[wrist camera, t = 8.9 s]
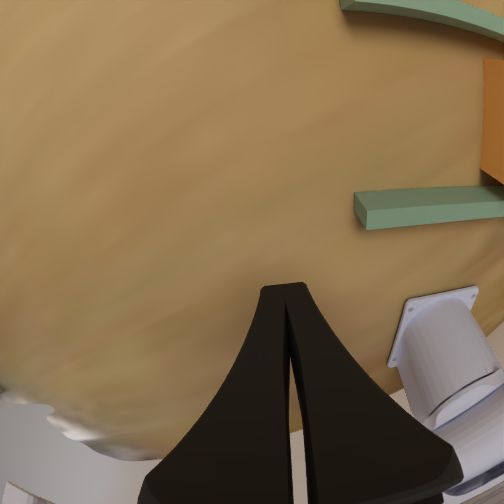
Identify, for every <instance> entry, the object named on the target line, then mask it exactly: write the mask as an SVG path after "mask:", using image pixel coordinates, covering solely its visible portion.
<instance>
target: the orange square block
mask: <svg viewBox="0 0 504 504" xmlns="http://www.w3.org/2000/svg"><path fill="white" fill-rule="evenodd" d="M483 71H484V127H483V143H482V154H481V164H480V169H481V170H483V171H485V172H486V173H488V174H489V175H491V176H492V177H494V178H495V179H497V180H498V181H499V182H501V183H502V184H504V60H499V59H492V58H483Z"/></svg>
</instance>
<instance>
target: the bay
mask: <svg viewBox="0 0 504 504" xmlns="http://www.w3.org/2000/svg"><path fill="white" fill-rule="evenodd" d="M340 6H341V10H350V11H365V12H375V13H384V14H392V15H399V16H406V17H412V18H417V19H423V20H428V21H432V22H437V23H441V24H445V25H449V26H453V27H457V28H461V29H464V30H468V31H471V32H474V33H478V34H481V35H484V36H487V37H490V38H493V39H495V40H498V41H501V42H503V43H504V18H502V17H500V16H497V15H495V14H493V13H490V12H488V11H485V10H482V9H480V8H477V7H474V6H471V5H469V4H466V3H463V2H460V1H456V0H340ZM354 211H355V213H356V214H357V216H358V218H359V219H360V221H361V222H362V224H363V226H364V227H365V229H366V230H373V229H383V228H393V227H402V226H412V225H422V224H432V223H442V222H453V221H463V220H473V219H484V218H495V217H504V186H463V187H436V188H416V189H398V190H383V191H369V192H356V193H354Z"/></svg>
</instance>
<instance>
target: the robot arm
mask: <svg viewBox="0 0 504 504" xmlns="http://www.w3.org/2000/svg"><path fill="white" fill-rule="evenodd" d="M478 291H479V289H478V287H477V286H471V287H466V288H462V289H457V290H453V291H448V292H443V293H438V294H433V295H428V296H422V297H417V298H412V299H409V300H407V301H406V303H405V306H404V310H403V314H402V317H401V321H400V324H399V328H398V331H397V335H396V338H395V341H394V344H393V348H392V351H391V354H390V357H389V360H388V363H387V365H388V367H390V368H392V367H396V366H397V368H398V371H399V374H400V377H401V380H402V383H403V386H404V389H405V393H406V396H407V399H408V402H409V406H410V409H411V411H412V413H413V415H414V416H415V418H416V419H417V420H418V421H417V420H416V419H415V418H414V417H412V416H411V415H410V414H409V413H407V412H406V411H405V410H404V409H403V408H402V407H401V406H399V404H397V403H396V402H395V401H394V400H393V399H392V398H391V397H390V396H389V395H388V394H386V393H385V392H384V391H383V390H382V389H381V388H380V387H379V386H378V385H377V384H376V383H375V382H374V381H373V380H372V379H371V378H370V377H369V375H368V374H367V373H366V372H365V371H364V370H363V369H362V368H361V367H360V365H359V364H358V363H357V362H356V361H355V360H354V358H353V357H352V356H351V355H350V353H349V352H348V351H347V350H346V348H345V347H344V346H343V344H342V343H341V342H340V340H339V339H338V338H337V336H336V335H335V334H334V332H333V331H332V329H331V328H330V326H329V325H328V323H327V322H326V320H325V319H324V317H323V316H322V314H321V312H320V311H319V309H318V307H317V306H316V304H315V302H314V300H313V298H312V296H311V294H310V292H309V290H308V288H307V285H306V284H305V283H303V282H297V283H289V284H279V285H270V286H264V287H263V288H262V289H261V291H260V297H259V302H258V305H257V309H256V312H255V315H254V318H253V321H252V324H251V326H250V329H249V331H248V334H247V337H246V339H245V341H244V343H243V346H242V348H241V350H240V352H239V354H238V356H237V358H236V360H235V362H234V364H233V366H232V368H231V370H230V372H229V374H228V375H227V377H226V379H225V381H224V382H223V384H222V386H221V387H220V389H219V390H218V392H217V394H216V395H215V397H214V398H213V400H212V401H211V402H210V404H209V405H208V407H207V408H206V410H205V411H204V413H203V414H202V415H201V417H200V418H199V419H198V421H197V422H196V423H195V424H194V425H193V427H192V428H191V429H190V430H189V431H188V433H187V434H186V435H185V436H184V437H183V439H182V440H181V441H180V442H179V443H178V444H177V446H176V447H175V448H174V449H173V450H172V451H171V452H170V453H169V454H168V455H167V456H166V457H165V458H164V459H163V460H162V461H161V462H160V463H159V464H158V465H157V466H156V467H155V468H154V469H152V470H151V471H150V472H149V473H148V474H147V475H146V477H145V479H144V481H143V484H142V487H141V491H140V494H139V497H138V502H137V504H294V500H293V482H292V465H291V448H290V432H289V385H290V358H291V363H292V368H293V374H294V379H295V384H296V389H297V394H298V399H299V405H300V410H301V416H302V423H303V435H304V448H305V462H306V477H307V496H308V504H504V370H503V369H502V367H501V365H500V363H499V361H498V359H497V357H496V355H495V354H494V352H493V350H492V348H491V346H490V344H489V343H488V341H487V339H486V337H485V335H484V334H483V332H482V330H481V328H480V327H479V325H478V323H477V322H476V320H475V318H474V317H473V315H472V313H471V312H470V311H471V308H472V306H473V303H474V301H475V299H476V296H477V294H478ZM420 422H421V423H423V425H422V424H421V423H420ZM2 504H54V503H52V502H50V501H48V500H45V499H43V498H41V497H38V496H35V495H33V494H31V493H30V492H28V491H26V490H24V489H22V488H20V487H18V486H17V485H15V484H13V483H11V482H7V484H6V488H5V492H4V496H3V500H2Z"/></svg>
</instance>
